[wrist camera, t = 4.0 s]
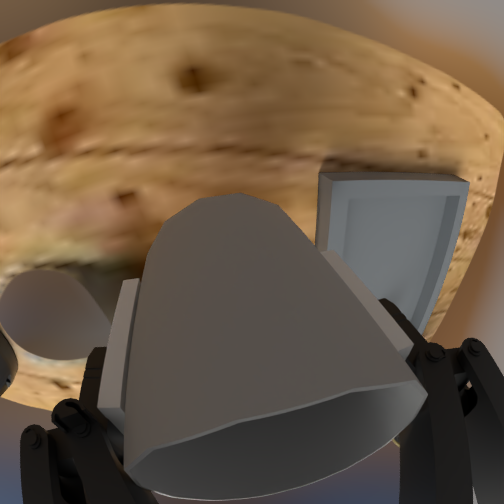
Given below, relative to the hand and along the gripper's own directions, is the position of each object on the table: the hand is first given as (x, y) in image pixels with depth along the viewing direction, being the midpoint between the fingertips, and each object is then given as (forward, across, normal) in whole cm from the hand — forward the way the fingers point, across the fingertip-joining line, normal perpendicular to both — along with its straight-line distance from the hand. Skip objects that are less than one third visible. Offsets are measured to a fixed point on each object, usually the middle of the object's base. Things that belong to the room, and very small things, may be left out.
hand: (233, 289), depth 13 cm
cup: (+2, 0, 0) cm, 2 cm away
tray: (+8, +16, -8) cm, 20 cm away
